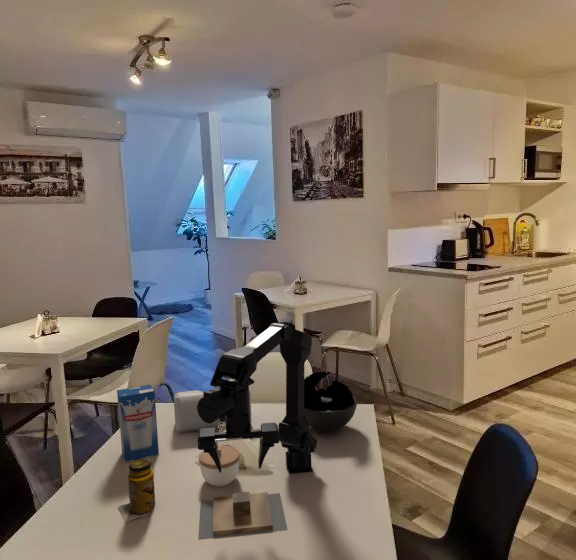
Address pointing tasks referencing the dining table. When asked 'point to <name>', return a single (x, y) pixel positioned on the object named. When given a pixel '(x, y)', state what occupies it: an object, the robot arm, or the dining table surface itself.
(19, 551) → the dining table surface
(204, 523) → the mat
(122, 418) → the milk carton
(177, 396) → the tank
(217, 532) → the lid
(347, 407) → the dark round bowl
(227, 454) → the lidded jar
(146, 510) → the condiment
